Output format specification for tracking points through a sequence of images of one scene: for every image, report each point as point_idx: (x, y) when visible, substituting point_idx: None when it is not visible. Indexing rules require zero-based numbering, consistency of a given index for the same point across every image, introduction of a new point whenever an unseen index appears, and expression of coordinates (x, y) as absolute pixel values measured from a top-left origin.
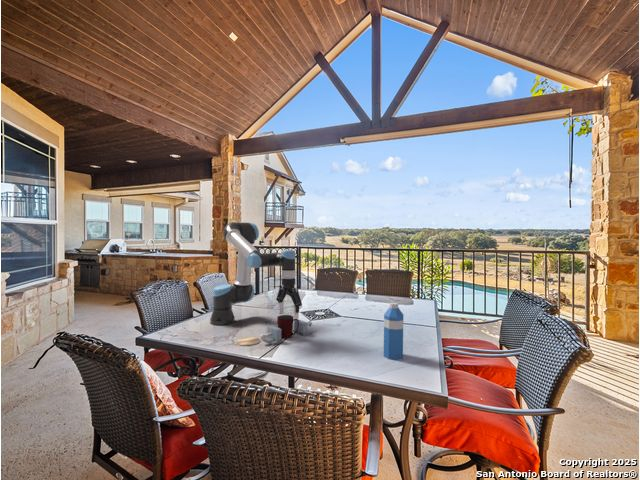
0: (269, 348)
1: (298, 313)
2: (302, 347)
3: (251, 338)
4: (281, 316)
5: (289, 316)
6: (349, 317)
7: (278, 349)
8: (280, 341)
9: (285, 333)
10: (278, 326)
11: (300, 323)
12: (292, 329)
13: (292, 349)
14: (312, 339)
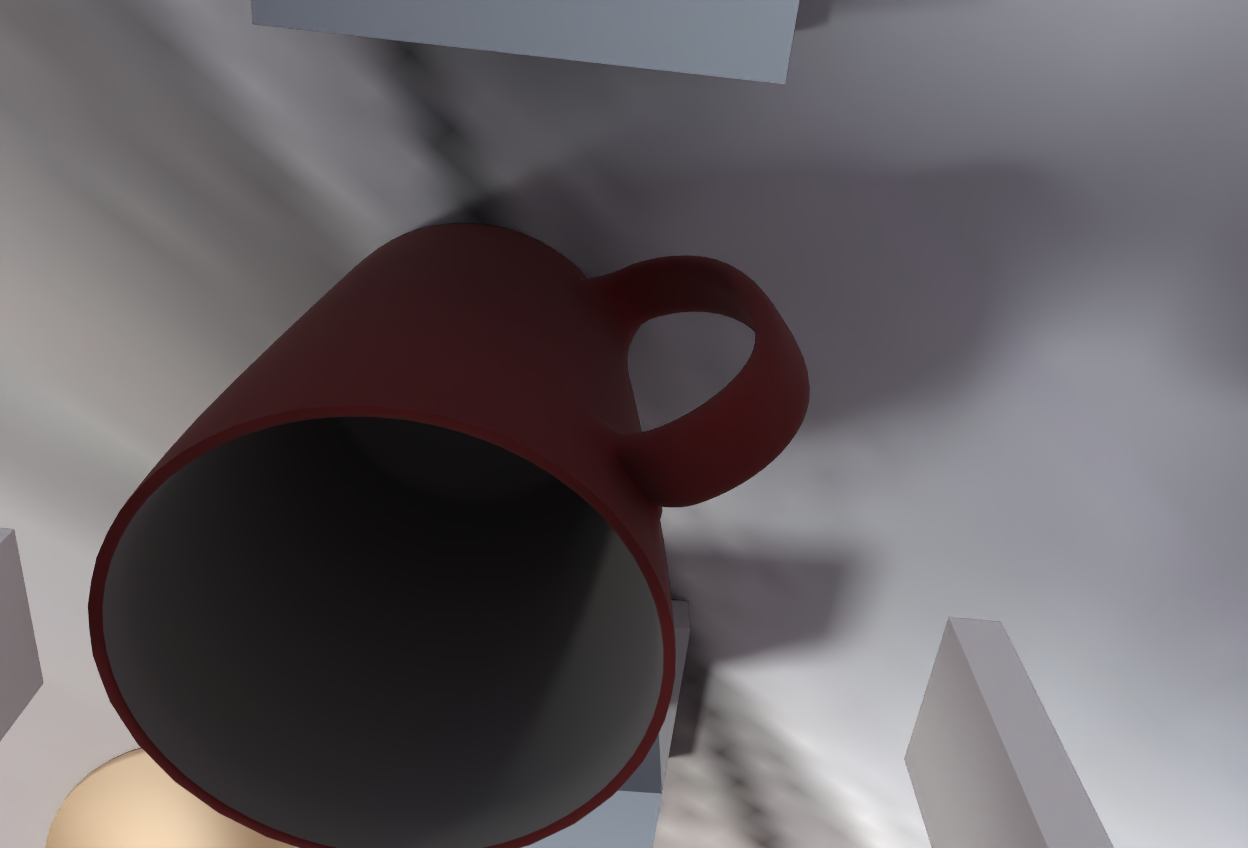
0: (714, 844)
1: (1068, 770)
2: (1151, 532)
3: (158, 813)
4: (119, 596)
5: (296, 407)
6: None
7: (855, 796)
8: (683, 657)
9: (592, 526)
10: (398, 674)
11: (634, 60)
12: (606, 349)
13: (1046, 682)
14: (1100, 67)
